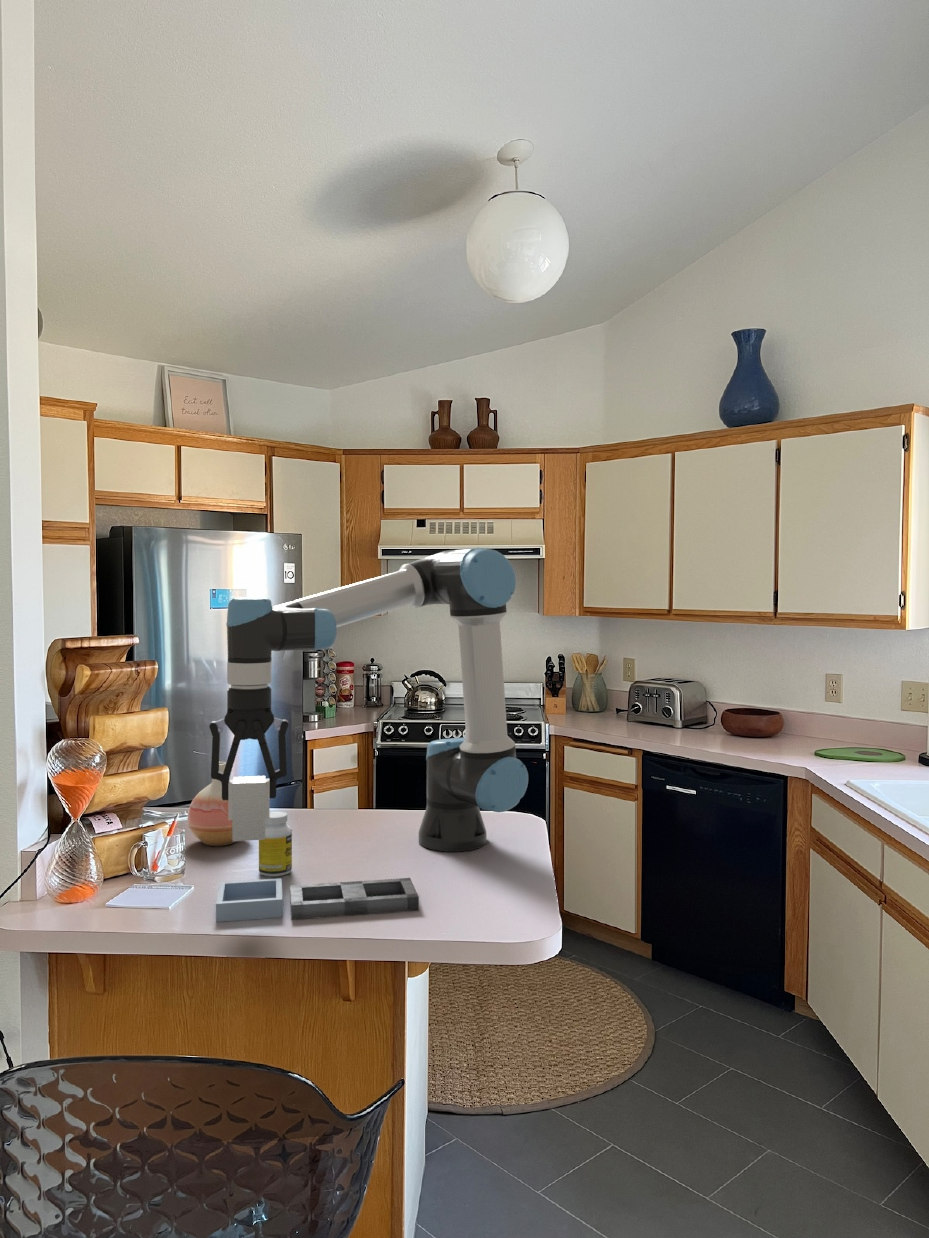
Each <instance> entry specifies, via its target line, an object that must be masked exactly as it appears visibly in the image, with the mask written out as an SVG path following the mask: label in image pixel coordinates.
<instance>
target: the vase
mask: <svg viewBox="0 0 929 1238" xmlns="http://www.w3.org/2000/svg"><path fill="white" fill-rule="evenodd" d="M226 762H227V761H219V771H220V772H224V769H225V765H226ZM187 825H188V829H189V831H190V833H192V835H193V836H194V837H195V838H197V839H198V840H199V841H200V842H201V843H202V844H204V845H206V846H210V847H211V846H212V847H224V846H228V845H231V844H234V843H236V842H237V841H232V820H228V800H223V799H222V783H221V781H219V780H216V779H212V778H211V783H210V784H207V786H205V787H204V788H203V789H202V790H200V791H199V792H198V793H197V794H196V795H195V797H193V799H192V801H191V803H190V804H189V808H188V811H187Z"/></svg>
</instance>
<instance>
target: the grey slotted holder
mask: <svg viewBox="0 0 929 1238" xmlns="http://www.w3.org/2000/svg"><path fill="white" fill-rule="evenodd" d="M289 889H290V891H289V893H290V894H289V895H290V897H289V899H290V900H289V903H290V904H289V905H290V915H291V916H290V917H291V918H290V919H291V920H292V921H295V920H304V919H305V920H308V919H320V918H322V919H323V918H333V917H334V918H335V917H348V916H349V917H350V916H362V915H373V914H374V915H375V914H377V915H378V914H387V913H389V914H390V913H402V912H405V913H406V912H417V911H419V910H420V909H419V908H420V907H419V903H420V899H419V898H420V896H419V895H418V892H417V890H416V888H415V886H414V884H413V881H412V879H411V877H404V878H403V877H402V878H385V879H370V880H358V881H356V880H355V881H344V882H343V881H341V882H339V881H338V882H325V883H324V882H323V883H309V884H294V885H290V886H289Z"/></svg>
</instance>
